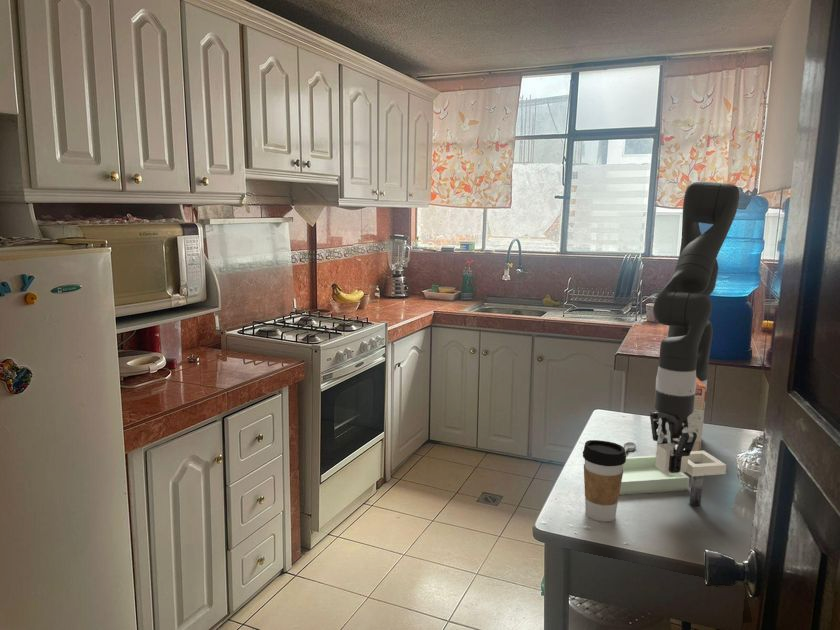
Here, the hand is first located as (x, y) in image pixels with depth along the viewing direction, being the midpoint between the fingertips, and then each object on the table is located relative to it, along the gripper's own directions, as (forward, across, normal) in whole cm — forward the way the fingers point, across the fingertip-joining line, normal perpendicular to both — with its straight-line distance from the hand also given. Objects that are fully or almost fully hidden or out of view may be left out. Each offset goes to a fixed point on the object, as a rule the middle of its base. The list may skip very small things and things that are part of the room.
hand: (668, 467), depth 128 cm
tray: (+9, +13, -1) cm, 16 cm away
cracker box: (+9, +24, -19) cm, 32 cm away
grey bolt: (+9, 0, -7) cm, 11 cm away
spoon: (+10, +28, -6) cm, 30 cm away
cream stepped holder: (0, 0, -4) cm, 4 cm away
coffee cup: (+9, -1, +15) cm, 18 cm away
